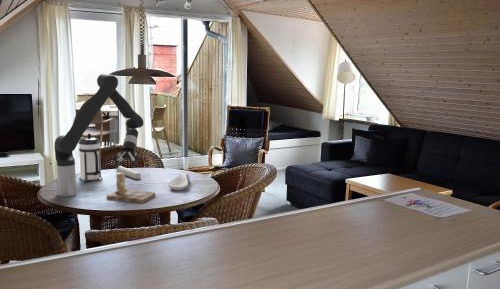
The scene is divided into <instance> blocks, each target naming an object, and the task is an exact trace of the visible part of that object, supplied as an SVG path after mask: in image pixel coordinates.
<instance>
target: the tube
mask: <svg viewBox="0 0 500 289" xmlns="http://www.w3.org/2000/svg"><path fill="white" fill-rule="evenodd" d="M115 170H116V174H117V173H118V172H119V173H125V177H129V178H132V179H134V180H140V179H141V178H142V173H140V172H138V171H135V170H132V169H129V168H127V167H124V166H122V165H119V168H117V167H116V169H115Z"/></svg>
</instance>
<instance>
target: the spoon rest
mask: <svg viewBox="0 0 500 289" xmlns="http://www.w3.org/2000/svg"><path fill="white" fill-rule="evenodd" d="M190 177H191V176H190V175H189V174H188V173H183V172H181V173H180V174H179V175H177V176H175V177H174V178H173V179H172V180H170V181H169V182H168V183H167V185H168V187H169V189H171V190H173V191H183V190H185V189H186V187H187V186H188V184H189V183H191V179H190Z"/></svg>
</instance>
